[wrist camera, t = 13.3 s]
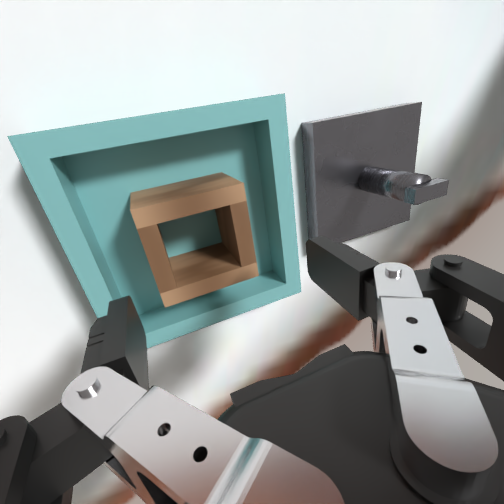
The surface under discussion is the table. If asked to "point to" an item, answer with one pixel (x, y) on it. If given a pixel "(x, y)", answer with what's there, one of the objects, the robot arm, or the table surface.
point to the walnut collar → (204, 259)
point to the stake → (364, 171)
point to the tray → (174, 231)
